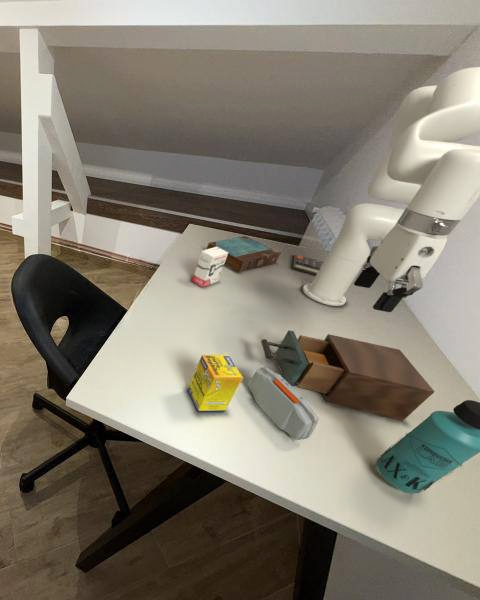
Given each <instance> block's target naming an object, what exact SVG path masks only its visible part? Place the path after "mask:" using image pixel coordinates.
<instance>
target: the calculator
mask: <svg viewBox="0 0 480 600" xmlns="http://www.w3.org/2000/svg"><path fill="white" fill-rule="evenodd" d="M323 263H324V261H322V260H318V259H314V258H311V257H308V256H307V257H306V256H303V255H299V254H294V255H293V261H292V270H296V271H300V272H304V273H307V274H310V275H313V276H316V275H317V273H318V271H319V269H320V268H321V266H322V264H323Z"/></svg>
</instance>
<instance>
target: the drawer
mask: <svg viewBox="0 0 480 600" xmlns="http://www.w3.org/2000/svg"><path fill="white" fill-rule="evenodd" d="M260 343H261V347H262V350H263V354H264V357H265V359H266V360H267V361H272V360H274V361H276V362H277V365H278V368H279V371H280V373H281V374H280V375H281V377H282V378H284V379H285V380H286V381H287V382H288V383H289V384H290V385H291V386H292V387H293V386H294V385H295V384H296V386H297V387H298V388H302V389H305V390H310V391H313V392H318V393H321V394H322V393H325V394H329V393H330V392H331V391H332V389H333V388H334V387H335V386H336V384H337V383H338V382H339V381H340V379H341V378H342V377H343V376H344V374H345V373H346V370H345V368H344V367H343V365H342V363H341V361H340V360H339V358H338V356H337V354H336V353H335V351H334V349H333V347H332V346H331V344H330V342H329V341H325V340H324V339H320V338H315V337H311V336H308V335H307V336H306V335H302V334H299V336H298V337H297V335H296V333H295V331H294V330H287V332H286V333H285V335H284V337H283V339H282V340H281V342H280V343H275V342H272V341H268V339H266V338H263V339H261V341H260ZM270 347H274V348H277V349H276V351H275V353H274V355H273V354H272V350H271V348H270ZM303 350H305V351H309V352H314V353H318V354H323V355H324V356H325V358H326V360H327V362H328V363H329V365H326V364H322V363H317V362H313V361H312V363H311V364H310V366H309V367H308V369H307V370H306V371H305V373H304V374H303V376H302V377H301V376H300V375H301V373H302V372H303V371H304V369H305V368H306V366H307V365H308V362H307V360H306V358H305V356H304V353H303ZM293 388H294V387H293Z"/></svg>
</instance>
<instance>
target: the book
mask: <svg viewBox="0 0 480 600" xmlns="http://www.w3.org/2000/svg"><path fill="white" fill-rule="evenodd" d="M213 247H219V248H221V249H222V250H224V251H226V252H228V255H227V258H226V261H225V263H224V266H225V267H227V268H229V269H230V270H233V271H235V272H236V273H242V272H245V271H249V270H253V269H257V268H258V269H259V268H262V267H265V266H269V265H273V264H276V263H277V262H278V260H279V259H280V257H281V254H282V252H281V251H277V250H276V249H274V248H272V247H270V246H268V245H266V244H264V243H261V242H260V241H257V240H254V239H253V238H250V237H248V236H246V235H245V236H244V235H243V236H238V237H233V238H227V239H222V240H216V241H211V242H208V245H207V246H206V249H210V248H213Z"/></svg>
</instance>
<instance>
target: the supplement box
mask: <svg viewBox="0 0 480 600" xmlns="http://www.w3.org/2000/svg"><path fill="white" fill-rule="evenodd" d="M232 359H233V358H231V356H230V355H229V354H202V355H201V356H200V359H199V361H198V364H197V365H196V368H195V371H194V374H193V376H192V378H191V381H190V383H189V385H188V388H187V392H188V394H189V395H190V397H191V400H192V403H193V405H194V407H195V410H196V412H197V413H198V414H204V413H205V414H209V413H210V414H211V413H212V414H213V413H225V412H226V410H227V408H228V407H229V404H230V402H231V401H232V399H233V397H234V395H235V394H236V392H237V390H238V388H239V387H240V384H241V383H242V381H243V380H244V376H243V375H242V373H241V372H240V370H238V368H237V366H236V365H235V362H234V361H233V360H232Z"/></svg>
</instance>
